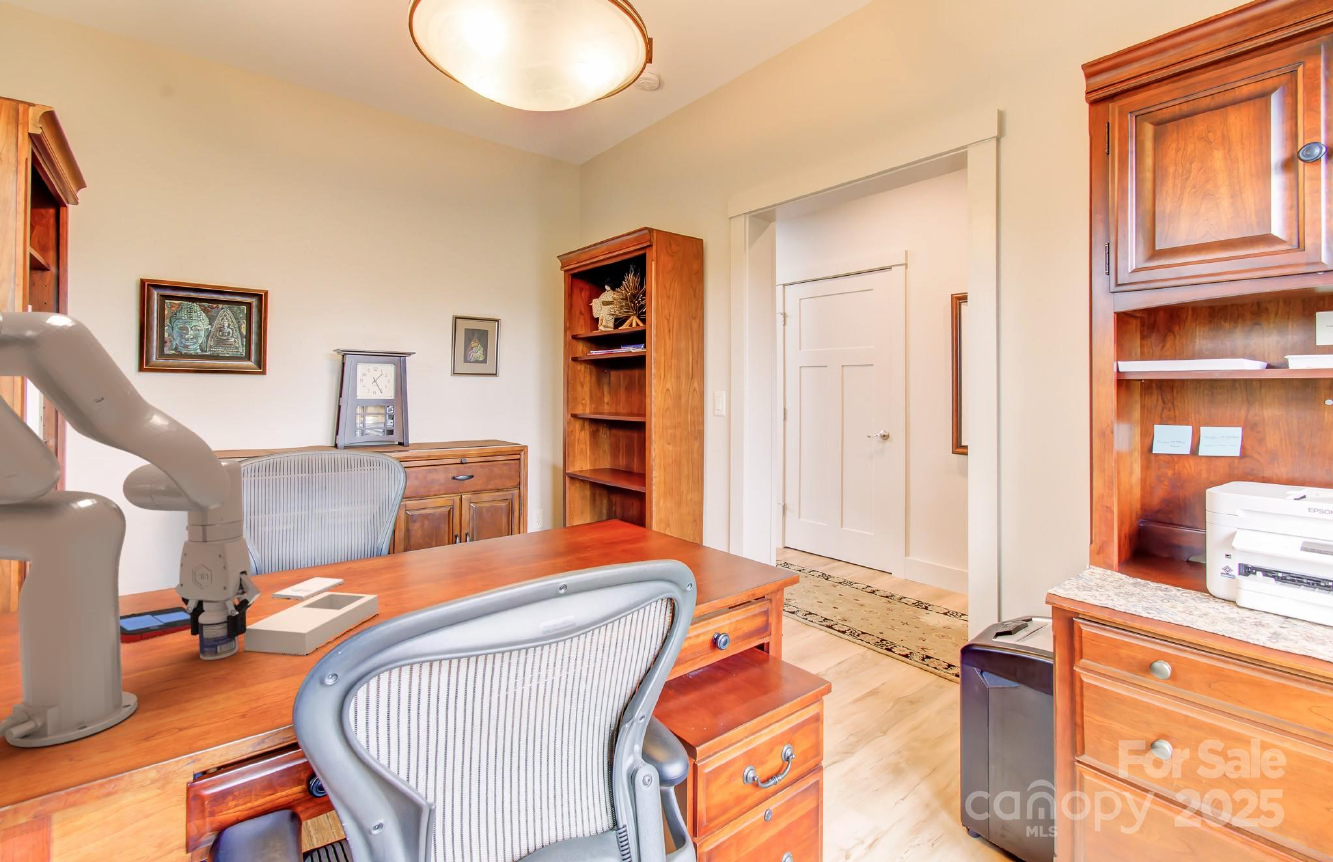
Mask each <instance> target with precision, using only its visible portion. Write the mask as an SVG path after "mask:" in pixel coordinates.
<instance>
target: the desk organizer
mask: <svg viewBox="0 0 1333 862" xmlns="http://www.w3.org/2000/svg"><path fill="white" fill-rule="evenodd" d="M376 612H378V613H379V595H377V594H366V593H365V594H364V593H350V592H349V593H348V592H334V591H333V592H332V591H325V592H323V593H320V594H318V595H315V596H313V597H311V598H308V599H306V600H302V602H298V603H297V604H295V605H292V606H291V607H287V608H286V609H283V610H282V611H279V612H277V613H275V614H272V615H270V616H268V617H266V618H264V619H261V620H259V621H257V622H254V623H253V624H252V623H251V625H248V626H247V625H246V632H245V633H243V636H244V637H243V639H244V640H243V644H244V647H243V648H244V649H243V650H244V651H247V652H249V651H250V652H260V653H270V654H282V653H283V655H295V654H296V656H307V655H306V654H307V653H309V652H310V651H312V650H313V649H316V648H317V647H318V646H320V645H321V644H323V643H325V642H327V641H328V640H330V639H331V638H332V637H334V636H337V635H339V634H340V633H341V632H344V631H345V630H346V629H348V628H349V627H352V626H353V625H354V624H357V623H358V622H359V621H361V620H362V619H365V618H367V617H369V616H371V615H372V614H375V613H376ZM284 653H285V654H284ZM297 654H298V655H297ZM303 654H304V655H303Z"/></svg>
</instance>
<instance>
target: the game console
mask: <svg viewBox="0 0 1333 862" xmlns="http://www.w3.org/2000/svg"><path fill="white" fill-rule="evenodd" d="M190 613H191V612H190ZM190 613H189V612H187V610H186V608H185V607H183V606H174V607H168V608H162V609H154V610H149V611H144V612H138V613H131V614H125V615H120V639H121V643H123V642H126V643H125V644H130V642H133V643H138V641H139V642H141V641H140V640H143V641H146V639H147V640H149V638H151V639H154V637H155V638H158V637H157V636H159V637H163V636H166V635H165V634H167V635H170V633H171V634H175V633H178V631H179V632H182V631H187V630H191V625H190ZM186 629H187V630H186ZM162 635H163V636H162Z"/></svg>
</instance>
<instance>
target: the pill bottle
mask: <svg viewBox="0 0 1333 862" xmlns="http://www.w3.org/2000/svg"><path fill="white" fill-rule="evenodd" d="M203 609H204V610H205V612H203V613H202V614H201V615H200V616H199V634H198V643H199V644H198V648H199V650H198V651H199V657H200V659H201V660H204V661H213V660H214V661H215V660H219V659H223V658H227V657H231V656H232V655H234V654H236V653H237V652H238V650H239V636H237V637H235V638H232V639H229V638H228V637H227V616H229V615H231V614H230V612H229V609H228V607H227V605H226V602H225V601H224V602H218V601H203Z"/></svg>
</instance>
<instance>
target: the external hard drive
mask: <svg viewBox="0 0 1333 862" xmlns="http://www.w3.org/2000/svg"><path fill="white" fill-rule="evenodd" d="M342 583H344V584H345V580H344V579H342V578H331V577H316V576H315V577H313V578H310V579H308V580H305V581H302V582H299V583H297V584H293V585H292V586H289V587H286V588H284V589H281V590H279V591H277V592H274V593H272V594H271V598H272V599H280V598H290V599H289V600H292V599H300V600H299V601H305V600H304V599H306V600H308V599H310V598H309V597H311V598H312V596H313V595H315V596H317V594H318V593H320V594H321V592H323V591H325V592H327V591H329V589H330V588H332V589H334V588H335V587H334V586H337V587H339V586H340V585H339V584H342ZM338 585H339V586H338ZM342 585H343V584H342ZM333 587H334V588H333ZM326 590H327V591H326ZM330 590H331V589H330ZM323 593H324V592H323ZM318 595H319V594H318ZM273 597H274V598H273ZM313 597H314V596H313ZM307 598H308V599H307Z"/></svg>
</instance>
